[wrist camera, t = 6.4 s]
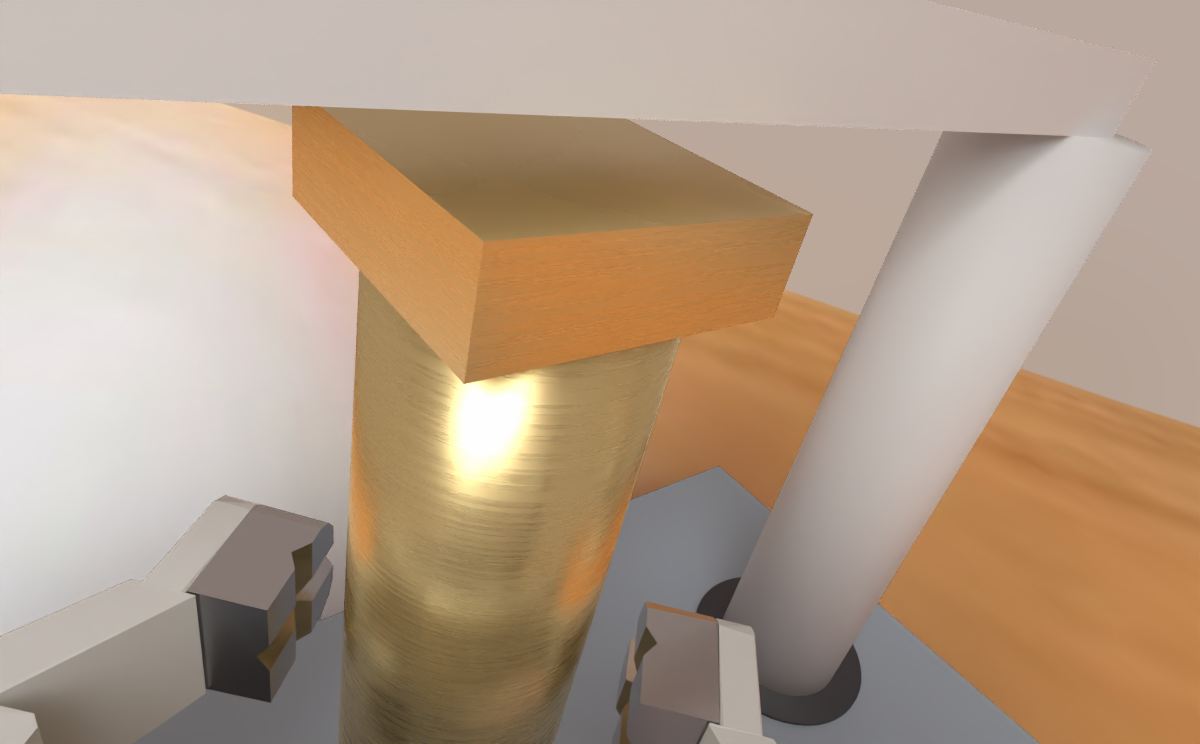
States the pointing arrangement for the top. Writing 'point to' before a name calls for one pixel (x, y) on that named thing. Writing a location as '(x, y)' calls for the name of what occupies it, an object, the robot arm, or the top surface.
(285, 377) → the top surface
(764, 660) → the bolt plate
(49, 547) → the top surface
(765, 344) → the top surface
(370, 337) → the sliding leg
